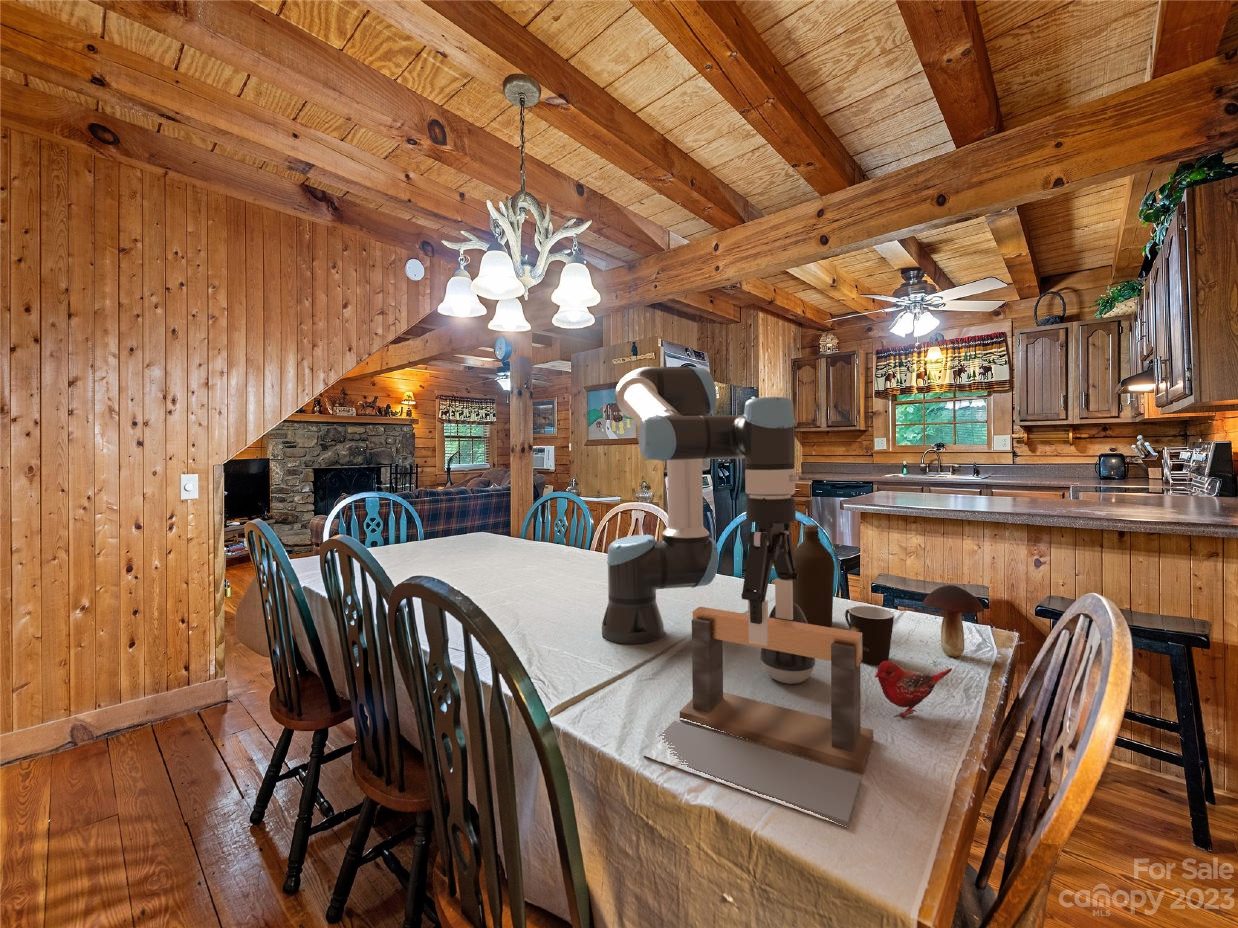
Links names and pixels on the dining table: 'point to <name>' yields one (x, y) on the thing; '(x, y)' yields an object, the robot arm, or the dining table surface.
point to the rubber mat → (766, 771)
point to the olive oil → (814, 579)
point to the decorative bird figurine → (906, 685)
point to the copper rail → (781, 634)
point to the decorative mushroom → (953, 615)
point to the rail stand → (781, 708)
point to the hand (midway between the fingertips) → (772, 630)
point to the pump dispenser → (787, 657)
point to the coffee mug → (872, 631)
